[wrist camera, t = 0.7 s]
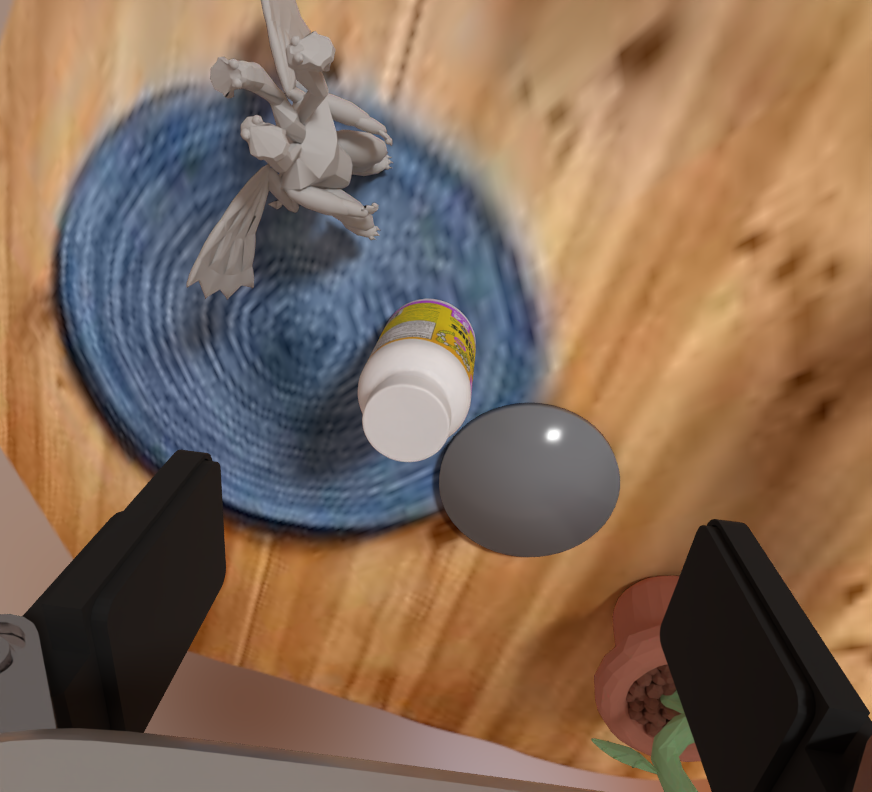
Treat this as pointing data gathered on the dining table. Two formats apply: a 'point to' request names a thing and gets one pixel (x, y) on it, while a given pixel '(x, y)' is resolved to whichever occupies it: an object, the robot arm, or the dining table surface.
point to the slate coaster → (529, 480)
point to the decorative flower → (644, 689)
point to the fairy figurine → (291, 148)
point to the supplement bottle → (418, 380)
